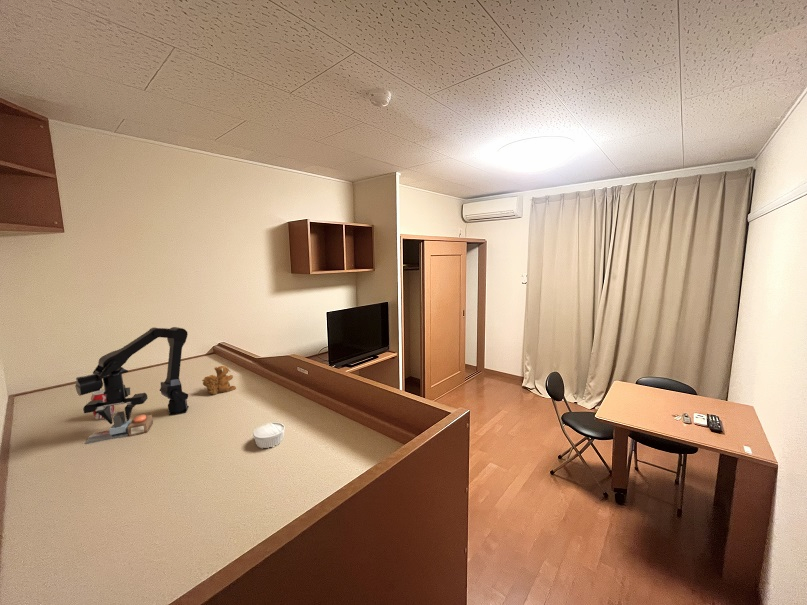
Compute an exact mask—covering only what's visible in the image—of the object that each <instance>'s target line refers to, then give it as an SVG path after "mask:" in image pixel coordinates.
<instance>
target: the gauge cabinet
mask: <svg viewBox="0 0 807 605" xmlns="http://www.w3.org/2000/svg"><path fill="white" fill-rule="evenodd" d="M153 425H154V421H153V414H150V415H146V420H145V421H143V422H140V423H134V420H133V419H132V420H131V423H130V424H129V426H128V433H129V435H128V437H132V436H136V435H143V434H147V433H149V430H151V428H152V427H153Z"/></svg>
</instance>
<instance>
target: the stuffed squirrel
mask: <svg viewBox="0 0 807 605" xmlns="http://www.w3.org/2000/svg"><path fill="white" fill-rule="evenodd" d="M213 369H214V371H215V372H216V375H214V374H210V375H209V376H205V377H204V378H203V379H202V380H201V382H202V385H203V386H204V387H206V391H207V392H208V394H210V395H217V394H219V393H228V392H232V391H234V390H236V389H237V386H235V385H230V381H232V380H233V378H234V376H233V375H232V374H230V375H227V374H228V373H231V370H230V369H229V368H228V367H227V366H226V365H221V366H215V367H214V368H213Z"/></svg>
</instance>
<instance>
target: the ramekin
mask: <svg viewBox="0 0 807 605" xmlns="http://www.w3.org/2000/svg"><path fill="white" fill-rule="evenodd" d="M285 430H286V427H285V424H283V423H281V422H279V421H278V422H277V421H276V422H274V421H273V422H267V423H264V424H261V425H260V426H258V427H256V428H255V429H254V430H253V432H252V436H253V438H254V440H255V444H256V447H258V448H260V449H263V448H268V449H270V448H269V447H272V448H274V447H273V446H275V445H277V444H279V443H280V442H281V441H282V442H283V440H284V435H285ZM282 442H281V443H282ZM281 443H280V444H281ZM280 444H279V445H280ZM277 446H278V445H277ZM275 447H276V446H275Z"/></svg>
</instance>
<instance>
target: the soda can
mask: <svg viewBox="0 0 807 605" xmlns="http://www.w3.org/2000/svg"><path fill="white" fill-rule="evenodd" d="M104 391H105V389H104V388H103V389H100V390H99V391H95V392H91V396H90V401H94V400H100V399H101V400H102V401H103V402H106V395H104ZM115 411H116V409H115V405H112V406H110V412H111V416H114V415H115ZM95 412H96V410H95V411H94V412H92V413H93V418H94V419H96V420H106V419H105V418H104V417H102V416H101V415H100V414H98V413H95Z"/></svg>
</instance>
